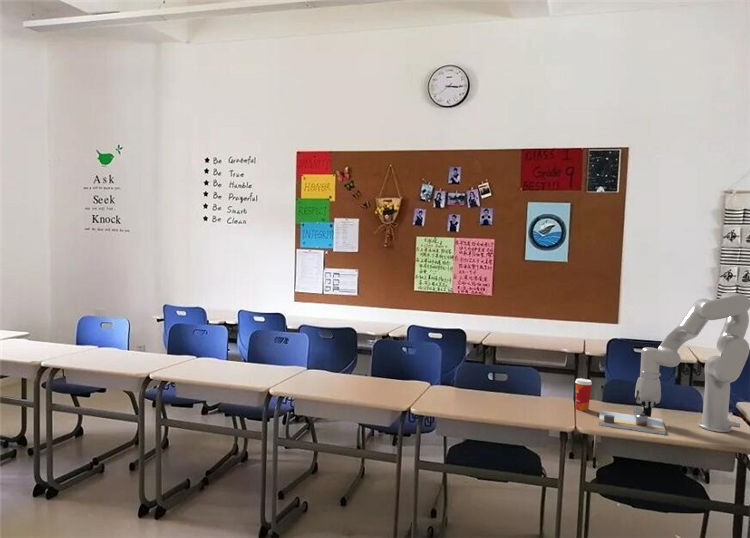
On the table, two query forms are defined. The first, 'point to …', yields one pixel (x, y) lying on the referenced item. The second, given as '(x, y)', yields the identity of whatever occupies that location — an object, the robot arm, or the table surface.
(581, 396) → the paper cup
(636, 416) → the latch bar
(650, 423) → the door board
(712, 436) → the table surface
